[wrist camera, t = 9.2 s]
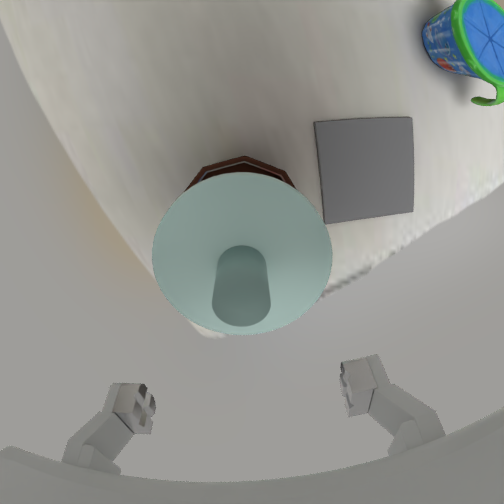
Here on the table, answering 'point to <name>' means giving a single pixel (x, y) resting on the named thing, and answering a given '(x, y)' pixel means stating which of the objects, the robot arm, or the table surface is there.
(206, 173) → the ice cream bowl
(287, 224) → the lid
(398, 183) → the mat
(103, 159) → the table surface
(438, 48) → the snack cup
